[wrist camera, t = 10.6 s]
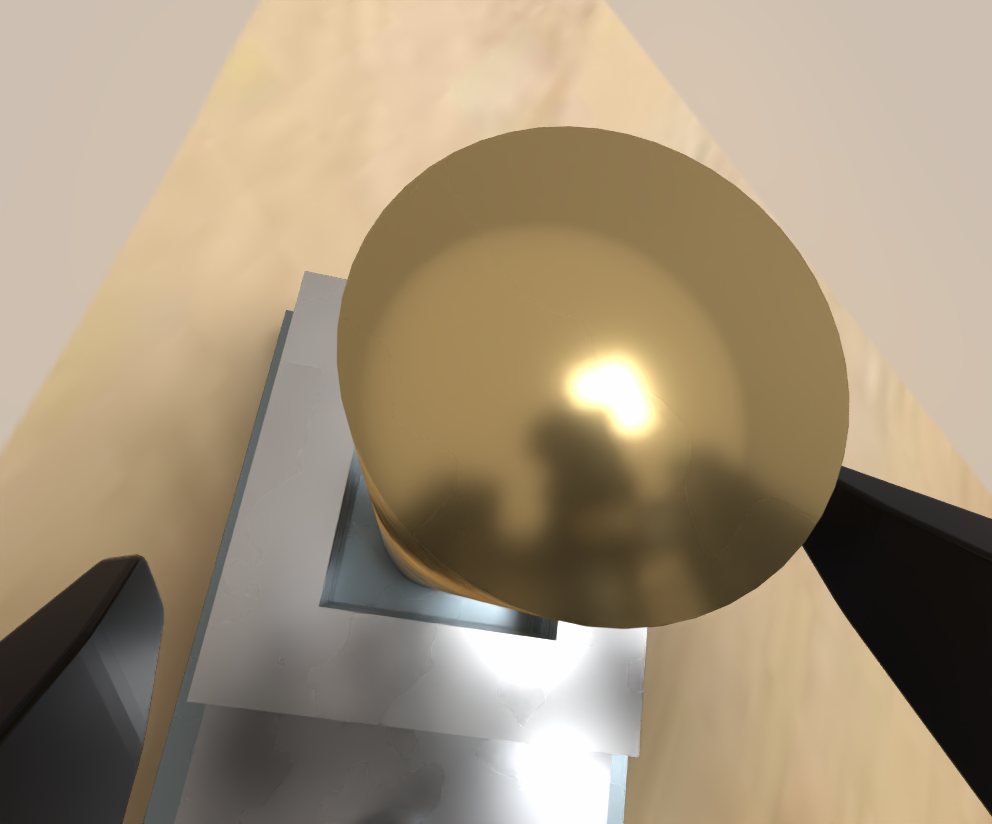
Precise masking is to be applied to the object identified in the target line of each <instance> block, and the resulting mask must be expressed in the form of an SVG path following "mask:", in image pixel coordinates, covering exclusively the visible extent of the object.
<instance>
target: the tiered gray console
mask: <svg viewBox="0 0 992 824" xmlns="http://www.w3.org/2000/svg"><path fill="white" fill-rule="evenodd" d="M346 283H347V280H346V279H341V278H337V277H332V276H327V275H322V274H317V273H313V272H308V271H305V273H304V276H303V280H302V284H301V287H300V291H299V295H298V298H297V302H296V305H295V309H294V312H293V311H288V310H286V313H285V317H284V320H283V324H282V327H281V331H280V335H279V338H278V342H277V345H276V349H275V352H274V356H273V360H272V363H271V367H270V370H269V374H268V378H267V381H266V385H265V388H264V392H263V395H262V399H261V403H260V406H259V410H258V413H257V417H256V420H255V424H254V428H253V431H252V435H251V438H250V442H249V446H248V449H247V453H246V456H245V460H244V463H243V467H242V471H241V474H240V478H239V481H238V485H237V489H236V492H235V496H234V499H233V503H232V506H231V510H230V514H229V517H228V521H227V524H226V528H225V532H224V535H223V539H222V542H221V546H220V549H219V553H218V557H217V560H216V564H215V567H214V571H213V575H212V578H211V582H210V585H209V589H208V592H207V596H206V600H205V603H204V607H203V610H202V614H201V618H200V621H199V625H198V628H197V632H196V635H195V639H194V643H193V646H192V650H191V653H190V657H189V661H188V664H187V668H186V671H185V675H184V678H183V682H182V686H181V689H180V693H179V696H178V700H177V704H176V707H175V711H174V714H173V718H172V721H171V725H170V729H169V732H168V736H167V739H166V743H165V746H164V750H163V754H162V757H161V761H160V764H159V768H158V772H157V775H156V779H155V782H154V786H153V789H152V793H151V797H150V800H149V804H148V807H147V811H146V815H145V818H144V822H143V824H623V819H624V805H625V790H626V776H627V761H628V756H632V757H639V748H640V732H641V717H642V701H643V686H644V671H645V655H646V640H647V627H644V628H632V629H614V628H599V627H585V626H580V625H576V624H571V623H566V622H561V621H557V620H552V619H547V618H543V617H539V616H535V615H531V614H528V613H524V612H520V611H516V610H512V609H508V608H504V607H500V606H496V605H492V604H488V603H484V602H480V601H477V600H473V599H469V598H465V597H461V596H457V595H453V594H449V593H445V592H441V591H437V590H433V589H429V588H426V587H424V586H421V585H419V584H417V583H415V582H413V581H411V580H410V579H409V578H407V577H406V576H405V575H404V574H403V573H401V572H400V571H399V570H398V568H397V567H396V566H395V565H394V563H393V562H392V560H391V559H390V557H389V555H388V553H387V550H386V548H385V545H384V542H383V539H382V535H381V532H380V529H379V525H378V522H377V519H376V515H375V512H374V509H373V505H372V502H371V499H370V495H369V492H368V489H367V486H366V482H365V479H364V476H363V472H362V469H361V466H360V462H359V459H358V456H357V452H356V449H355V446H354V442H353V439H352V436H351V432H350V429H349V425H348V421H347V418H346V414H345V411H344V407H343V403H342V400H341V393H340V385H339V377H338V370H337V327H338V321H339V314H340V308H341V302H342V296H343V292H344V289H345V286H346Z"/></svg>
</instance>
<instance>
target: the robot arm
mask: <svg viewBox="0 0 992 824" xmlns="http://www.w3.org/2000/svg"><path fill="white" fill-rule="evenodd" d="M802 546H803V548H804V550H805V551H806V553H807V555H808V556H809V558H810V560H811V561H812V563H813V565H814V566H815V568H816V570H817V571H818V573H819V575H820V576H821V578H822V580H823V581H824V583H825V585H826V586H827V588H828V590H829V591H830V593H831V595H832V596H833V598H834V600H835V601H836V603H837V604H838V606H839V607H840V609H841V611H842V612H843V614H844V615H845V616H846V618H847V619H848V621H849V622H850V624H851V625H852V626H853V628H854V629H855V631H856V632H857V633H858V635H859V636H860V637H861V639H862V640H863V642H864V643H865V644H866V646H867V647H868V648H869V650H870V651H871V652H872V654H873V655H874V657H875V658H876V659H877V661H878V662H879V663H880V665H881V666H882V667H883V669H884V670H885V672H886V673H887V674H888V676H889V677H890V678H891V680H892V681H893V682H894V684H895V685H896V687H897V688H898V689H899V691H900V692H901V693H902V695H903V696H904V698H905V699H906V700H907V702H908V703H909V704H910V706H911V707H912V708H913V710H914V711H915V713H916V714H917V715H918V717H919V718H920V719H921V721H922V722H923V723H924V725H925V726H926V728H927V729H928V730H929V732H930V733H931V734H932V736H933V737H934V738H935V740H936V741H937V743H938V744H939V745H940V747H941V748H942V749H943V751H944V752H945V753H946V755H947V756H948V758H949V759H950V760H951V762H952V763H953V764H954V766H955V767H956V768H957V770H958V771H959V773H960V774H961V775H962V777H963V778H964V779H965V781H966V782H967V784H968V785H969V786H970V788H971V789H972V790H973V792H974V793H975V794H976V796H977V797H978V799H979V800H980V801H981V803H982V804H983V805H984V807H985V808H986V809H987V811H988V812H989V814H990V815H991V816H992V519H991V518H988V517H985V516H982V515H979V514H976V513H974V512H971V511H968V510H965V509H962V508H959V507H957V506H954V505H951V504H948V503H945V502H942V501H940V500H937V499H934V498H931V497H928V496H926V495H923V494H920V493H917V492H914V491H911V490H909V489H906V488H903V487H900V486H897V485H894V484H892V483H889V482H886V481H883V480H880V479H877V478H875V477H872V476H869V475H866V474H863V473H861V472H858V471H855V470H852V469H849V468H846V467H844V466H841V469H840V472H839V475H838V479H837V482H836V486H835V488H834V490H833V493H832V495H831V497H830V499H829V501H828V503H827V506H826V508H825V510H824V512H823V514H822V516H821V518H820V519H819V521H818V522H817V524H816V525H815V527H814V529H813V530H812V532H811V533H810V535H809V536H808V538H807V539H806V541H805V542H804V543H803V545H802ZM163 623H164V608H163V603H162V600H161V597H160V594H159V592H158V589H157V586H156V584H155V581H154V578H153V576H152V573H151V570H150V568H149V565H148V563H147V561H146V560H145V558H144V557H142V556H140V555H128V556H121V557H113V558H107V559H104V560H102V561H100V562H99V563H97V564H96V565H95V566H93V567H92V568H91V569H90V570H88V571H87V572H86V573H85V574H83V575H82V576H81V577H80V578H78V579H77V580H76V581H75V582H73V583H72V584H71V585H70V586H68V587H67V588H66V589H65V590H63V591H62V592H61V593H60V594H59V595H57V596H56V597H55V598H54V599H52V600H51V601H50V602H49V603H47V604H46V605H45V606H44V607H42V608H41V609H40V610H39V611H37V612H36V613H35V614H34V615H32V616H31V617H30V618H29V619H27V620H26V621H25V622H24V623H22V624H21V625H20V626H19V627H17V628H16V629H15V630H14V631H12V632H11V633H10V634H9V635H7V636H6V637H5V638H4V639H3V640H1V641H0V824H122V822H123V818H124V815H125V811H126V808H127V804H128V801H129V797H130V793H131V790H132V786H133V783H134V779H135V776H136V772H137V769H138V765H139V761H140V757H141V753H142V749H143V744H144V739H145V734H146V728H147V722H148V716H149V710H150V704H151V698H152V692H153V685H154V679H155V673H156V667H157V661H158V654H159V648H160V642H161V636H162V630H163Z"/></svg>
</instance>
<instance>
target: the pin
mask: <svg viewBox="0 0 992 824" xmlns="http://www.w3.org/2000/svg"><path fill="white" fill-rule="evenodd" d="M337 370H338V377H339V385H340V393H341V400H342V403H343V407H344V411H345V414H346V418H347V421H348V425H349V429H350V432H351V436H352V439H353V442H354V446H355V449H356V452H357V456H358V459H359V462H360V466H361V469H362V472H363V476H364V479H365V482H366V486H367V489H368V492H369V495H370V499H371V502H372V505H373V509H374V512H375V515H376V519H377V522H378V525H379V529H380V532H381V535H382V539H383V542H384V545H385V548H386V550H387V553H388V555H389V557H390V559H391V560H392V562H393V563H394V565H395V566H396V567H397V568H398V570H399V571H400V572H401V573H403V574H404V575H405V576H406V577H407V578H409V579H410V580H411V581H413V582H415V583H417V584H419V585H421V586H424V587H426V588H429V589H433V590H437V591H441V592H445V593H449V594H453V595H457V596H461V597H465V598H469V599H473V600H477V601H480V602H484V603H488V604H492V605H496V606H500V607H504V608H508V609H512V610H516V611H520V612H524V613H528V614H531V615H535V616H539V617H543V618H547V619H552V620H557V621H561V622H566V623H571V624H576V625H580V626H585V627H599V628H614V629H632V628H644V627H656V626H663V625H668V624H672V623H676V622H681V621H685V620H689V619H693V618H697V617H699V616H702V615H704V614H707V613H709V612H712V611H714V610H717V609H719V608H722V607H724V606H727V605H729V604H731V603H732V602H734V601H736V600H737V599H739V598H741V597H742V596H744V595H746V594H747V593H749V592H751V591H752V590H754V589H756V588H758V587H759V586H760V585H761V584H762V583H764V582H765V581H766V580H767V579H768V578H770V577H771V576H772V575H773V574H774V573H776V572H777V571H778V570H779V569H781V568H782V567H783V566H784V565H785V564H786V563H787V561H788V560H789V559H790V558H791V557H792V556H793V555H794V554H795V552H796V551H797V550H798V549H799V548H800V547H801V546H802V545H803V543H804V542H805V541H806V539H807V538H808V536H809V535H810V533H811V532H812V530H813V529H814V527H815V525H816V524H817V522H818V521H819V519H820V518H821V516H822V514H823V512H824V510H825V508H826V506H827V503H828V501H829V499H830V497H831V495H832V493H833V490H834V488H835V486H836V482H837V479H838V475H839V472H840V469H841V465H842V462H843V458H844V453H845V447H846V440H847V433H848V427H849V389H848V379H847V370H846V363H845V358H844V354H843V350H842V345H841V341H840V337H839V333H838V330H837V327H836V325H835V322H834V319H833V316H832V313H831V310H830V308H829V305H828V303H827V301H826V299H825V297H824V295H823V293H822V291H821V289H820V286H819V284H818V282H817V280H816V278H815V277H814V275H813V273H812V272H811V270H810V269H809V267H808V265H807V264H806V262H805V261H804V259H803V257H802V256H801V254H800V253H799V251H798V250H797V249H796V247H795V246H794V245H793V243H792V242H791V241H790V240H789V238H788V237H787V236H786V235H785V233H784V232H783V231H782V229H781V228H780V227H779V226H778V225H777V224H776V223H775V222H774V221H773V220H772V219H771V218H770V217H769V216H768V215H767V214H766V213H765V211H764V210H763V209H762V208H761V207H760V206H759V205H758V204H756V203H755V202H754V201H753V200H752V199H750V198H749V197H748V196H747V195H746V194H745V193H743V192H742V191H741V190H740V189H739V188H737V187H736V186H735V185H733V184H732V183H731V182H729V181H728V180H726V179H725V178H723V177H722V176H720V175H719V174H717V173H716V172H714V171H713V170H712V169H710V168H708V167H706V166H704V165H703V164H701V163H699V162H697V161H695V160H693V159H692V158H690V157H688V156H686V155H684V154H682V153H680V152H677V151H675V150H672V149H670V148H668V147H665V146H663V145H661V144H658V143H656V142H652V141H649V140H646V139H642V138H639V137H636V136H632V135H629V134H624V133H619V132H614V131H608V130H603V129H597V128H583V127H570V126H566V127H541V128H533V129H527V130H521V131H515V132H509V133H505V134H502V135H499V136H495V137H492V138H488V139H485V140H481V141H479V142H477V143H474V144H472V145H470V146H468V147H465V148H463V149H461V150H458V151H456V152H454V153H452V154H451V155H449V156H447V157H446V158H444V159H442V160H441V161H439V162H437V163H436V164H434V165H432V166H431V167H429V168H428V169H426V170H425V171H424V172H423V173H421V174H420V175H419V176H418V177H417V178H415V179H414V180H413V181H412V182H410V183H409V184H408V185H407V186H405V187H404V189H403V190H402V191H401V192H400V193H399V194H398V195H397V196H396V197H395V198H394V199H393V200H392V201H391V203H390V204H389V205H388V206H387V207H386V208H385V209H384V210H383V212H382V213H381V215H380V216H379V218H378V219H377V221H376V222H375V224H374V225H373V226H372V228H371V229H370V231H369V232H368V234H367V235H366V237H365V239H364V241H363V243H362V245H361V247H360V250H359V252H358V254H357V256H356V258H355V260H354V262H353V264H352V267H351V270H350V273H349V276H348V280H347V283H346V286H345V289H344V292H343V296H342V302H341V308H340V314H339V321H338V327H337Z"/></svg>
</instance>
